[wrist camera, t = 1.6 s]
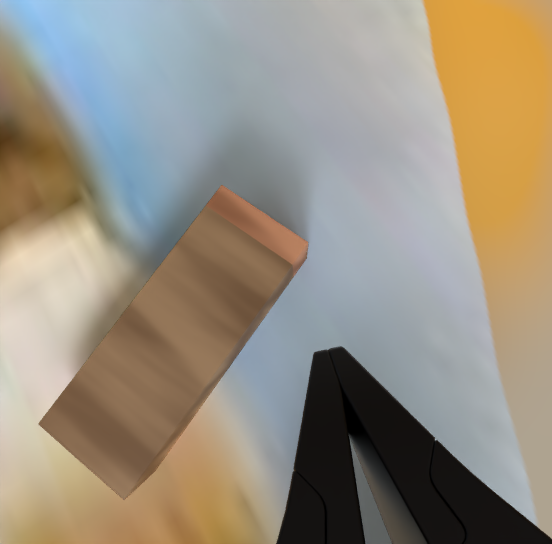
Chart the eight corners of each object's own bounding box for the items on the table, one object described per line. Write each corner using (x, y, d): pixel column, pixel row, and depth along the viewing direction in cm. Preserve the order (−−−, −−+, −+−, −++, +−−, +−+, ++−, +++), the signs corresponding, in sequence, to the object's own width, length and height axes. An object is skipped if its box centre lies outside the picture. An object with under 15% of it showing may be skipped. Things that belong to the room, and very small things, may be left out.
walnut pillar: (306, 258, 23) (155, 470, 21) (234, 209, 24) (83, 408, 22) (308, 242, 19) (124, 500, 18) (221, 184, 20) (38, 423, 18)
